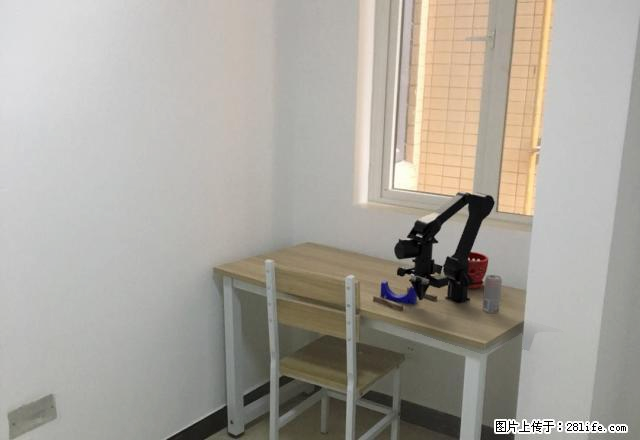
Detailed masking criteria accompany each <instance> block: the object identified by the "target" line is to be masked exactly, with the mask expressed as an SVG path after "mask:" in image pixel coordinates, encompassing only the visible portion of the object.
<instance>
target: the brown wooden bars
mask: <svg viewBox="0 0 640 440" xmlns="http://www.w3.org/2000/svg"><path fill="white" fill-rule="evenodd" d="M410 287H411V286H407V288H406V291H407V292H409V290H410ZM380 296H381V295H380ZM380 296H379V295H373V297H372V300H373V301H374V302H376V303H380V304H382V305H384V306H387V307H390V308H393V309H395V310H397V311H404V305H402V304H400V303H399V302H395V301H390V300H387V299H385V298H382V297H380ZM424 298H426V299H429V300H431V301H434V302H435V301H438V295H436V294H432V293H431V292H427V291H426V293H425V295H424Z"/></svg>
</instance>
